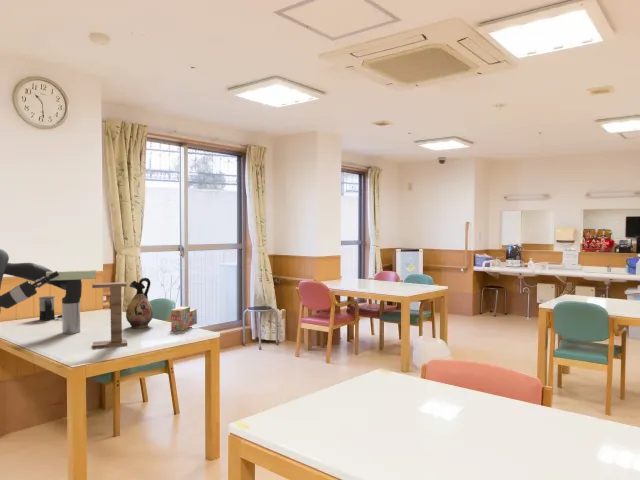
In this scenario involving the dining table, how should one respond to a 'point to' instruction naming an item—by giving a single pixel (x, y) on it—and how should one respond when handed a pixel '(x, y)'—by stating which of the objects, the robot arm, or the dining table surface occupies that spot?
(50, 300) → the milk frother
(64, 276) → the sage batten
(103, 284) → the walnut stand
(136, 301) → the ceramic jug
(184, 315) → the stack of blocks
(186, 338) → the dining table surface
